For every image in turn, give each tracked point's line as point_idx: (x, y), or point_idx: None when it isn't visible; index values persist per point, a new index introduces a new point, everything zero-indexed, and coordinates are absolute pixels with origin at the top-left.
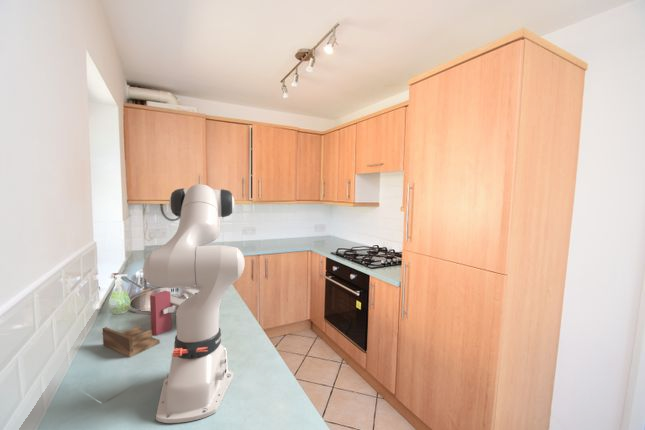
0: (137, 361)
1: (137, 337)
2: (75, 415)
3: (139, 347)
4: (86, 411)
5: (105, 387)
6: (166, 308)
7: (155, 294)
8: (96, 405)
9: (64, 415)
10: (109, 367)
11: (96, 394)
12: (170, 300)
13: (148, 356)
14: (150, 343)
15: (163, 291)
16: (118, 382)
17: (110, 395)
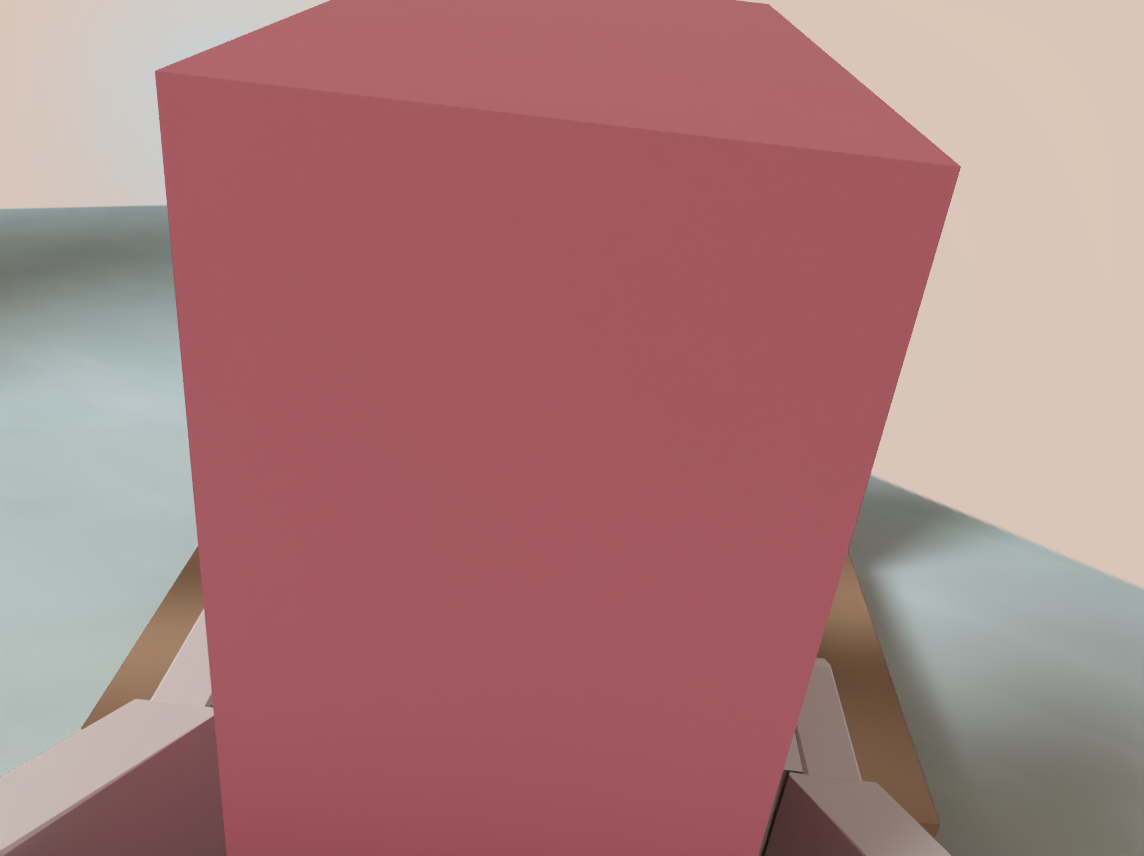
0: (113, 482)
1: None
2: (98, 225)
3: None
4: (60, 235)
5: (120, 309)
6: (200, 664)
7: (658, 5)
8: (37, 252)
9: (160, 223)
10: None
11: (124, 282)
12: (219, 724)
13: (40, 551)
14: (169, 625)
15: (806, 108)
16: (60, 336)
17: (11, 284)
